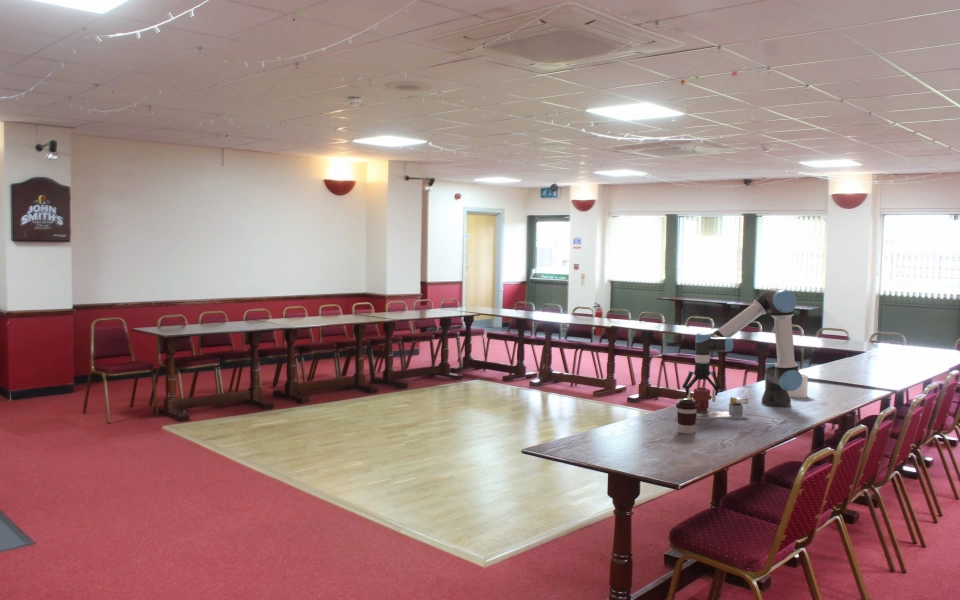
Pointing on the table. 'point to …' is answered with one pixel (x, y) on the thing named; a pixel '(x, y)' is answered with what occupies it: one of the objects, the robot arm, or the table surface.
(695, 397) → the mechanical component
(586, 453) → the table surface
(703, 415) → the shaft bed
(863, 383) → the table surface
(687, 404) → the coffee cup
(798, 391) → the cup
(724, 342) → the robot arm
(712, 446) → the table surface
